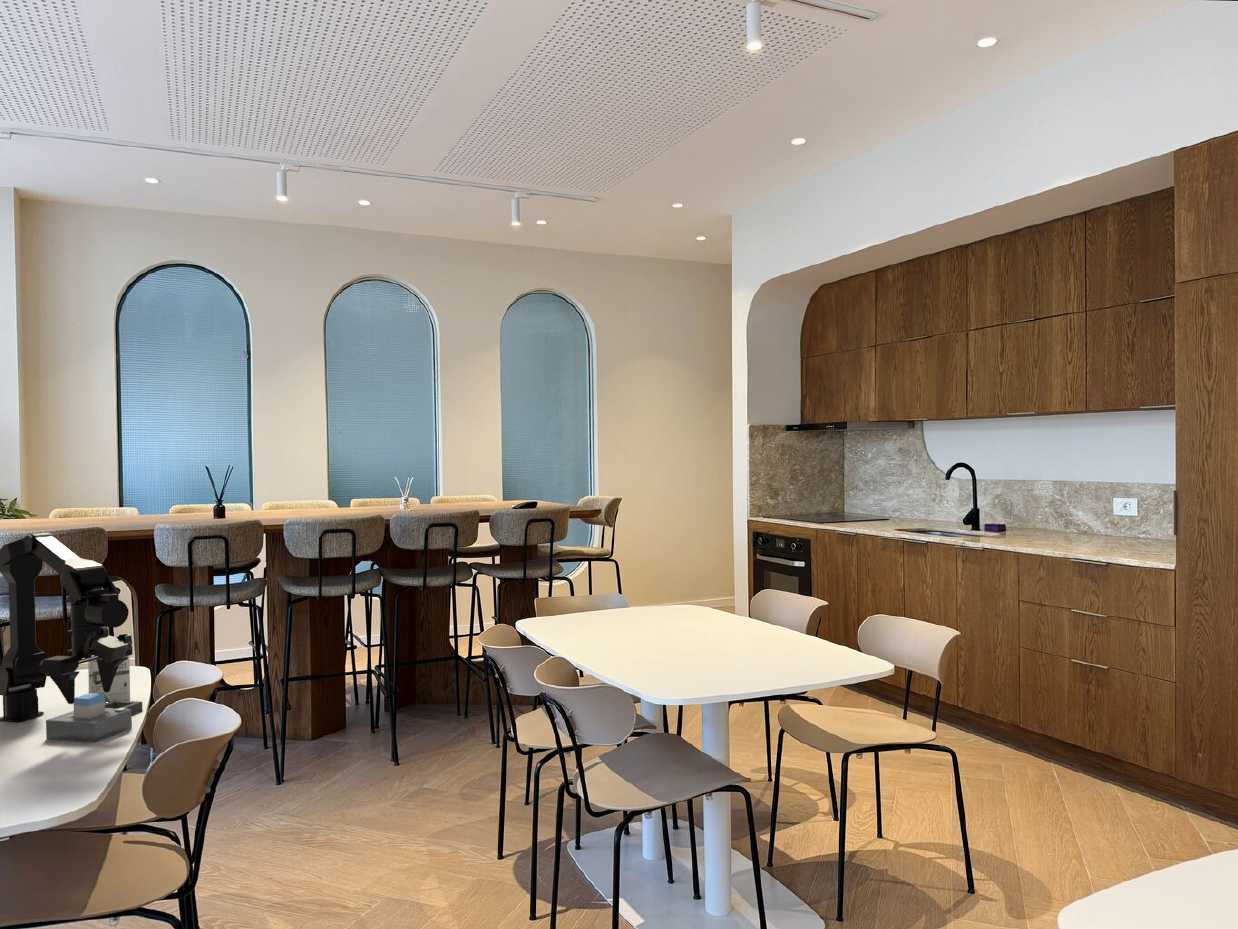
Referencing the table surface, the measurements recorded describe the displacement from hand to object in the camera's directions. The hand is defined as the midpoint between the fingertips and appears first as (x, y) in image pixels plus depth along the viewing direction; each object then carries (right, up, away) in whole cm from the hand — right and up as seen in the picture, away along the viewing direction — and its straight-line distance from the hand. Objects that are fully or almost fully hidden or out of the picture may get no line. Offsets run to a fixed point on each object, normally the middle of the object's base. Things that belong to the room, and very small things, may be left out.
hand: (89, 697), depth 189 cm
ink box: (-11, -8, +27) cm, 30 cm away
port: (0, -8, 0) cm, 8 cm away
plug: (0, -8, 0) cm, 8 cm away
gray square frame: (-3, -8, +14) cm, 16 cm away
